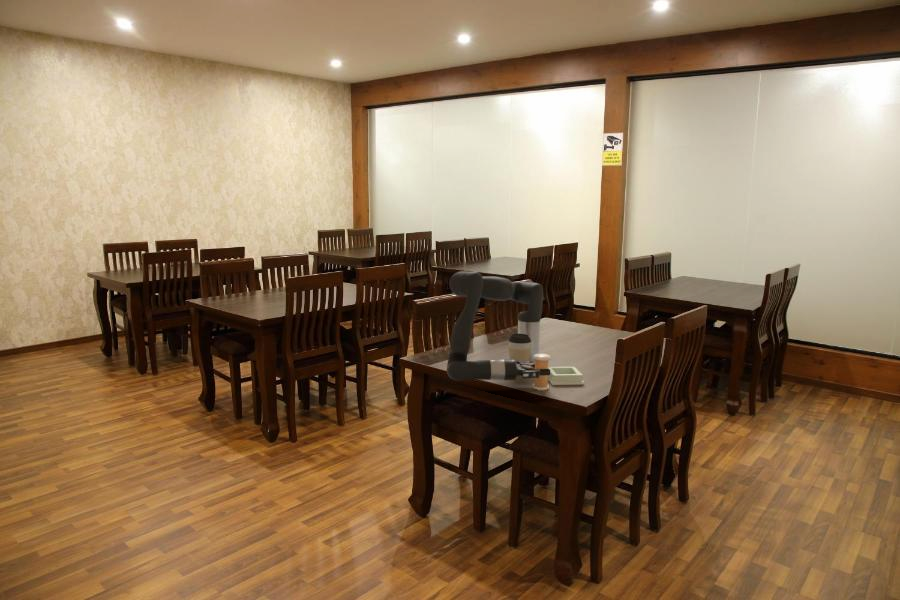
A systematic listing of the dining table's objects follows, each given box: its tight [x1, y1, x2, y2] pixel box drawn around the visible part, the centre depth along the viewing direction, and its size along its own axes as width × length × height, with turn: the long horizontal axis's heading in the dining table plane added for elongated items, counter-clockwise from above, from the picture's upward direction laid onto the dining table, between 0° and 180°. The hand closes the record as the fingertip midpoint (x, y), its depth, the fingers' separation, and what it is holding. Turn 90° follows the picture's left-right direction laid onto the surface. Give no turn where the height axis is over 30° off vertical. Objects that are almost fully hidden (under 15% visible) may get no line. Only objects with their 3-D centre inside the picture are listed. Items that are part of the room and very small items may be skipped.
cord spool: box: [531, 353, 551, 391], centre depth 217 cm, size 6×6×12 cm
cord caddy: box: [548, 366, 585, 386], centre depth 227 cm, size 12×12×4 cm
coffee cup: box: [508, 333, 531, 361], centre depth 237 cm, size 9×9×15 cm
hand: (547, 369), depth 217 cm, fingers open, 6 cm apart
